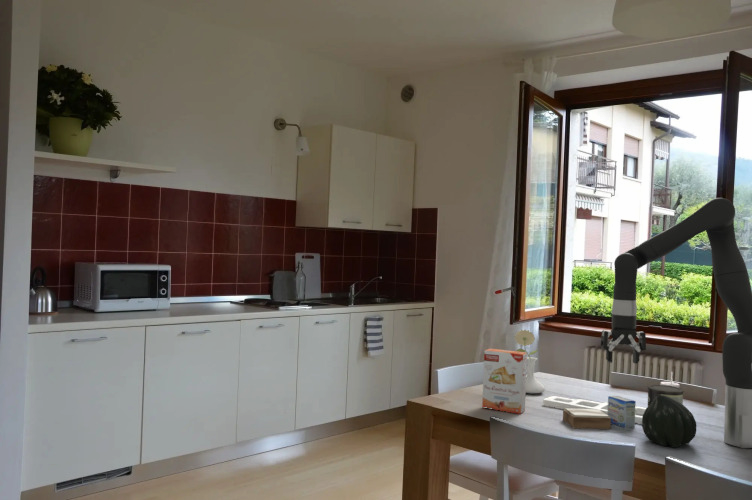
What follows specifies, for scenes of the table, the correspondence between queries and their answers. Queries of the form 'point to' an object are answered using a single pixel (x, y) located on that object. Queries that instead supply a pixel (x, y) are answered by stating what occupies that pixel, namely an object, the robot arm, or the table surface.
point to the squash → (668, 422)
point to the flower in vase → (529, 361)
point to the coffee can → (665, 392)
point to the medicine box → (621, 411)
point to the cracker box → (504, 380)
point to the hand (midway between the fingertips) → (622, 362)
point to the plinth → (586, 418)
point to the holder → (586, 405)
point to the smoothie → (670, 382)
